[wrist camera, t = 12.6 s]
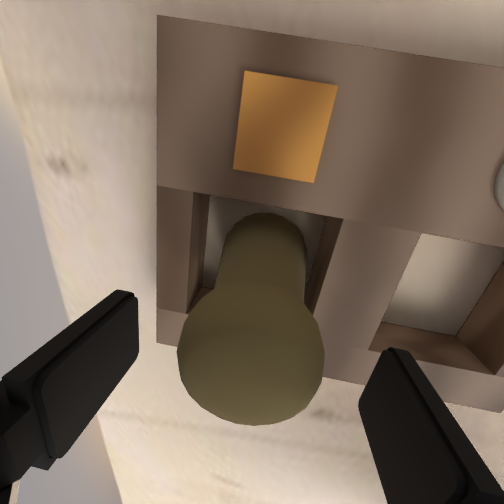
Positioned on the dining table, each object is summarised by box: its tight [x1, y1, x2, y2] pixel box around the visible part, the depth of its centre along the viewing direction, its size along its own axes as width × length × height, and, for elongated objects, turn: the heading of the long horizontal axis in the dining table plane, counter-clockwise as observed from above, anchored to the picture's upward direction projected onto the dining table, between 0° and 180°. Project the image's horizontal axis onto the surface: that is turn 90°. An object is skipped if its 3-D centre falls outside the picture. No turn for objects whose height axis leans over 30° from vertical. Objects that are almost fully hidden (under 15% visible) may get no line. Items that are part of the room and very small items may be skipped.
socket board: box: [157, 15, 504, 413], centre depth 14 cm, size 24×18×4 cm
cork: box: [177, 213, 325, 426], centre depth 12 cm, size 6×6×11 cm
